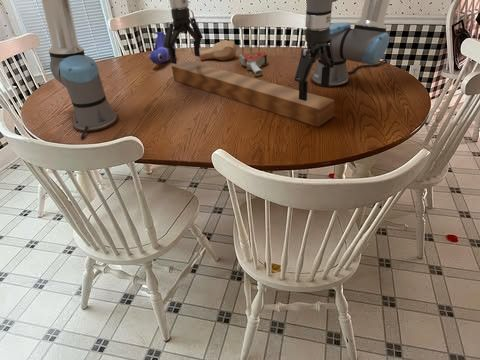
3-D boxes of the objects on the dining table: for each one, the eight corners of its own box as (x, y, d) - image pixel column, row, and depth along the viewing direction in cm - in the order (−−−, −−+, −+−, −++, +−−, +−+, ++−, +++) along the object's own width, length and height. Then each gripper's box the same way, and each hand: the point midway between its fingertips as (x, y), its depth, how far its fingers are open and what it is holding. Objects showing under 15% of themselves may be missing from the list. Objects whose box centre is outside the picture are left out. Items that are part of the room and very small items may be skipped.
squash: (238, 60, 183) (235, 44, 177) (201, 68, 185) (196, 51, 179) (237, 51, 191) (234, 34, 185) (201, 58, 193) (197, 42, 186)
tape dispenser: (258, 80, 163) (278, 64, 175) (258, 69, 159) (279, 54, 172) (226, 73, 170) (248, 58, 183) (226, 62, 167) (248, 48, 179)
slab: (173, 79, 166) (171, 65, 162) (189, 74, 171) (187, 60, 167) (318, 127, 121) (319, 109, 117) (332, 117, 127) (334, 99, 123)
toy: (164, 64, 198) (143, 70, 176) (159, 31, 191) (137, 33, 169) (180, 63, 196) (162, 69, 173) (176, 30, 189) (156, 32, 167)
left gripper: (161, 13, 138) (169, 68, 150) (208, 4, 152) (211, 54, 165) (149, 11, 142) (158, 65, 154) (196, 2, 157) (201, 51, 169)
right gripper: (304, 40, 100) (302, 108, 113) (349, 19, 114) (342, 82, 127) (283, 36, 104) (283, 103, 117) (328, 16, 118) (324, 78, 131)
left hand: (186, 59), depth 159 cm, fingers open, 13 cm apart
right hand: (314, 92), depth 122 cm, fingers open, 13 cm apart
